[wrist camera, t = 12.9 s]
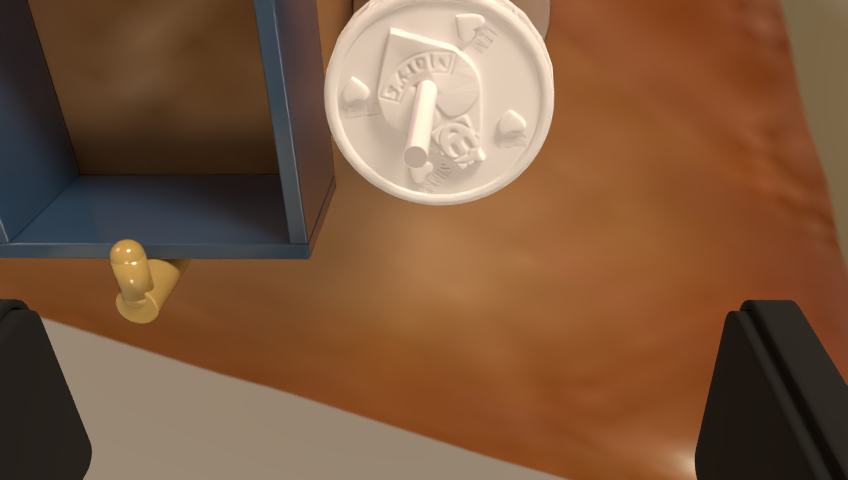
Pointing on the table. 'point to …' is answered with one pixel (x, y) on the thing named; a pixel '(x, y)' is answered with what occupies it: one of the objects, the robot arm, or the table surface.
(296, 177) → the drawer
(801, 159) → the table surface
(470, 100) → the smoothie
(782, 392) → the robot arm
